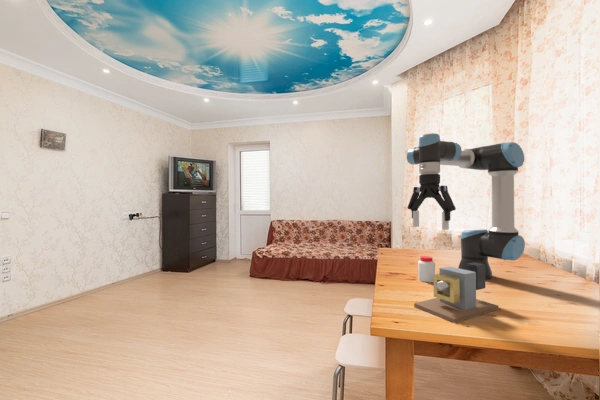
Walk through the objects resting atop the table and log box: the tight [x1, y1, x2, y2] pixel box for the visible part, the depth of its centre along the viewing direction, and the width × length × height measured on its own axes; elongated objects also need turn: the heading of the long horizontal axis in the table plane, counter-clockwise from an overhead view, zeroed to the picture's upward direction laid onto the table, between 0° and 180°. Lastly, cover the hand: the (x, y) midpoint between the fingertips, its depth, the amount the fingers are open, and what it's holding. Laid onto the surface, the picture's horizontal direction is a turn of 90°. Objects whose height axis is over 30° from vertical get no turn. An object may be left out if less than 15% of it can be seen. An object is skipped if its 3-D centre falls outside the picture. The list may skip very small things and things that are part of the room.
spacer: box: [433, 272, 460, 303], centre depth 104 cm, size 3×8×8 cm, turn 27°
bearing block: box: [413, 266, 499, 324], centre depth 106 cm, size 24×16×14 cm, turn 117°
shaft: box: [435, 262, 486, 291], centre depth 107 cm, size 24×4×9 cm, turn 117°
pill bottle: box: [417, 255, 436, 283], centre depth 142 cm, size 8×8×11 cm
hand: (430, 228), depth 115 cm, fingers open, 13 cm apart
